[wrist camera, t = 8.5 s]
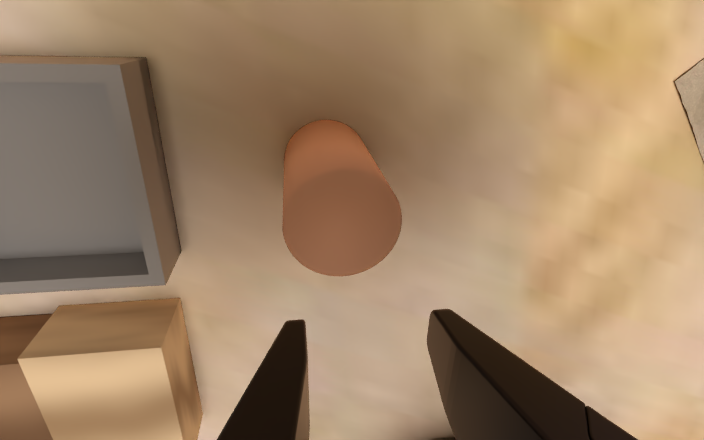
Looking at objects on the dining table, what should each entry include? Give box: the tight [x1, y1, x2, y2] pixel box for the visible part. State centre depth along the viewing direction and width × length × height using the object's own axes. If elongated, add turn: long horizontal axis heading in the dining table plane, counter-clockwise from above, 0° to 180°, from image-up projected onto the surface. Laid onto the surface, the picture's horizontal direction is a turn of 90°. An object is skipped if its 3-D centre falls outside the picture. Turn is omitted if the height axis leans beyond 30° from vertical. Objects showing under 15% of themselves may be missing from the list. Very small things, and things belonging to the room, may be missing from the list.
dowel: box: [283, 120, 402, 276], centre depth 17 cm, size 4×4×7 cm
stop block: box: [0, 314, 53, 440], centre depth 22 cm, size 10×3×4 cm, turn 179°
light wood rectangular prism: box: [17, 298, 203, 440], centre depth 22 cm, size 9×6×4 cm, turn 179°
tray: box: [0, 55, 181, 295], centre depth 17 cm, size 9×9×3 cm
